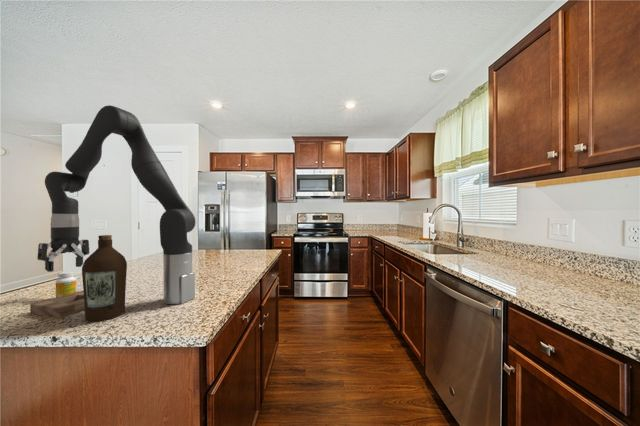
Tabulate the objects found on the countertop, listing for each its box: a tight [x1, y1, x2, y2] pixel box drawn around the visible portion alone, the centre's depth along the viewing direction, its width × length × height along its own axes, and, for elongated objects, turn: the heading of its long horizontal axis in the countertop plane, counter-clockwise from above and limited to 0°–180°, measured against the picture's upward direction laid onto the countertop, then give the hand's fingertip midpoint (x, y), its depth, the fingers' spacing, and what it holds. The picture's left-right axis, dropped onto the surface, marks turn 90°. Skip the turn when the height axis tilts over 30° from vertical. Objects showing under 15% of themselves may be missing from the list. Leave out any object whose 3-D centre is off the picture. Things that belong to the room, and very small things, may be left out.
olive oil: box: [81, 234, 128, 323], centre depth 77 cm, size 11×11×25 cm
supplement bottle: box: [55, 270, 77, 298], centre depth 93 cm, size 5×5×10 cm
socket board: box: [29, 290, 85, 319], centre depth 84 cm, size 14×14×3 cm
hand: (65, 268), depth 93 cm, fingers open, 8 cm apart
